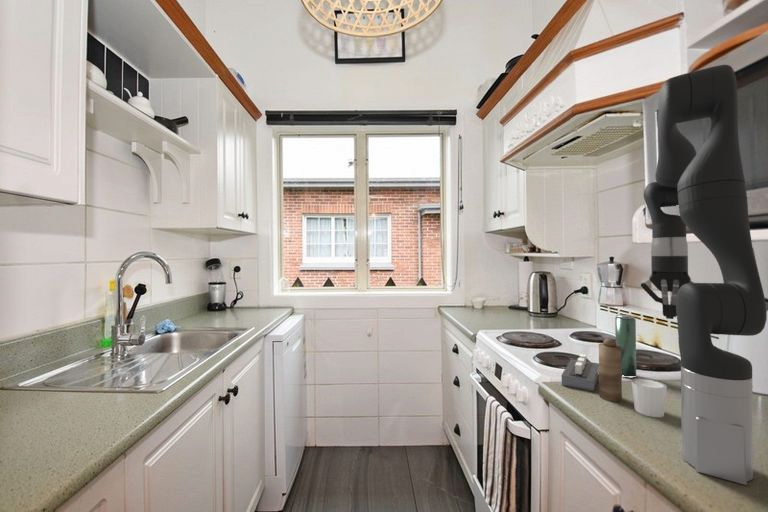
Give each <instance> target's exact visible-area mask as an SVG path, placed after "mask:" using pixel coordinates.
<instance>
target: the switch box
mask: <svg viewBox="0 0 768 512" xmlns="http://www.w3.org/2000/svg"><path fill="white" fill-rule="evenodd" d="M577 360H578V359H572V358H570V359H569V361H568V362H567V365H566V366H565V368H564V370H563V372H562V374H561V386H562V387H563V386H564V387H567V388H568V387H569V388H573V389H579V390H585V391H589V392H594V391H595V388H596V385H597V381H598V378H599V375H598V373H599V362H592V361H587V363H586V365H585V367H584V370H583V372H582V374H576V373H575V364H576V362H577ZM597 377H598V378H597Z"/></svg>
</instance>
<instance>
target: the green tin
mask: <svg viewBox="0 0 768 512" xmlns="http://www.w3.org/2000/svg"><path fill="white" fill-rule="evenodd" d="M615 316H616V317H614V320H615V321H614V322H615V324H614V325H615V328H614V329H615V331H614V332H615V336H614V337H615V341H616V344H617V345H619V346H621V367H622V375H624V376H636V377H637V336H636V335H637V332H636V330H637V329H636V328H637V326H636V324H637V323H636V318H635V316H634V315H632V314H631V315H630V314H616V315H615Z"/></svg>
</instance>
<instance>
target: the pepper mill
mask: <svg viewBox="0 0 768 512" xmlns="http://www.w3.org/2000/svg"><path fill="white" fill-rule="evenodd" d="M598 363H599V375H598V383H599V385H598V387H599V388H598V389H599V390H598V391H599V393H598V394H599V398H600V399H603V400H604V401H608V402H612V403H613V402H614V403H619V402H622V400H623V399H622V398H623V388H622V387H623V386H622V385H623V384H622V383H623V382H622V381H623V380H622V379H623V377H622V367H621V346H619V345H617V344H616V339H614V338H611V337H607V338H605V339H604V340H603V341H602V342H601V343H598Z"/></svg>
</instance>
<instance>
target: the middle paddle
mask: <svg viewBox="0 0 768 512" xmlns="http://www.w3.org/2000/svg"><path fill="white" fill-rule="evenodd" d="M576 360H577V362H580V363H583V370H584V367H585V358H580V357H578V358H577V359H576Z"/></svg>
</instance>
